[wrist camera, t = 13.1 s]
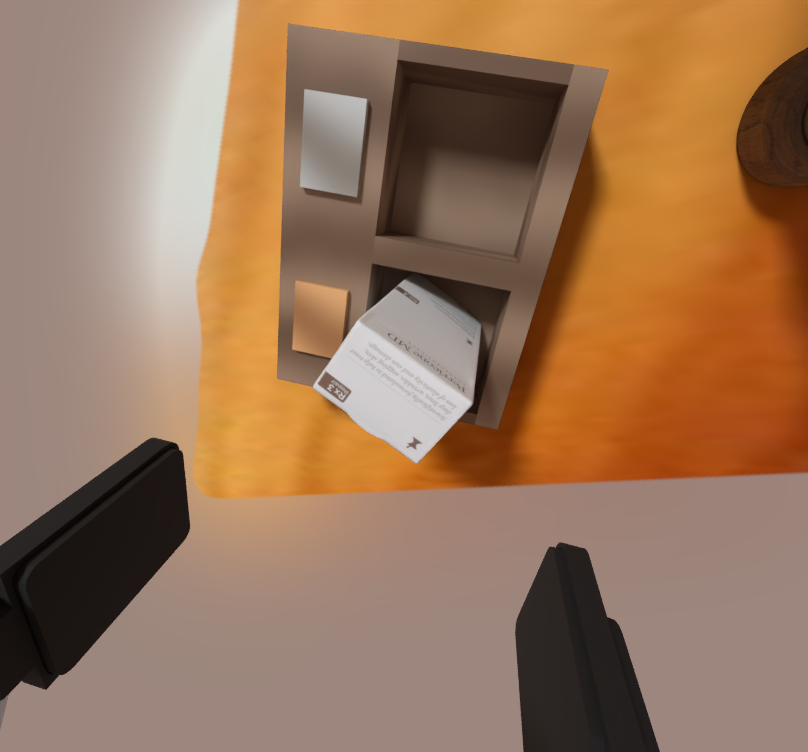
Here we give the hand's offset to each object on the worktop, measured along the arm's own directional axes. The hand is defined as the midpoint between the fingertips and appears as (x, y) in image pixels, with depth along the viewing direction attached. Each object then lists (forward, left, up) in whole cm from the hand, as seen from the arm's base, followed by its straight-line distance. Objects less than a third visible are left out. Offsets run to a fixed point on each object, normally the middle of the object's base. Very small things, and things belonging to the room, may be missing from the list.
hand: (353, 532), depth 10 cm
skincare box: (0, -1, -20) cm, 20 cm away
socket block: (-4, -2, -21) cm, 21 cm away
